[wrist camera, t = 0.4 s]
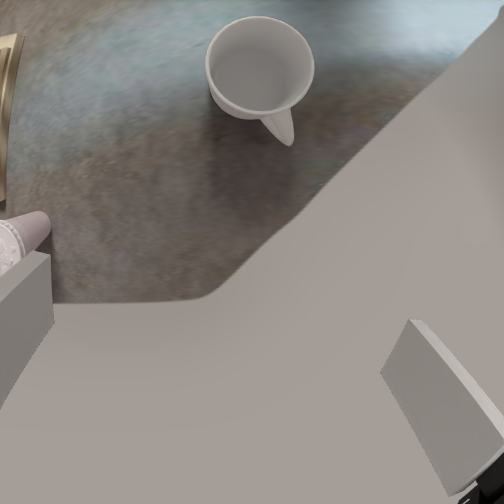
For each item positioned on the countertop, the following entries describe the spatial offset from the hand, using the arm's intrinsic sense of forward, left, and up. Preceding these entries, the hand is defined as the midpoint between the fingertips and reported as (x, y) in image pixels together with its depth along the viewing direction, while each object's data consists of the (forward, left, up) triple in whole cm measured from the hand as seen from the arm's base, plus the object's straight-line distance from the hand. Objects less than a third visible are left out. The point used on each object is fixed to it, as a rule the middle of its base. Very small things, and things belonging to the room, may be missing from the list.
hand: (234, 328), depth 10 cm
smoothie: (+7, -23, -27) cm, 37 cm away
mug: (-11, +2, -27) cm, 29 cm away
